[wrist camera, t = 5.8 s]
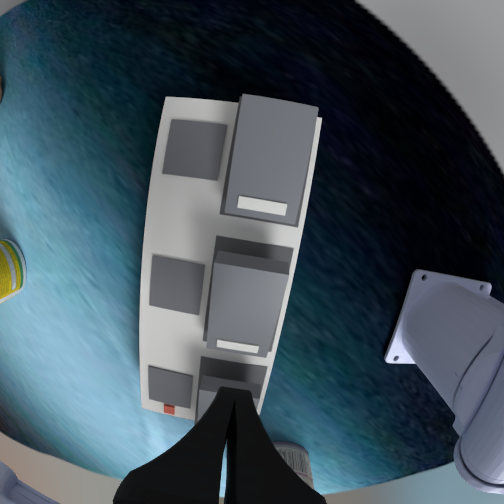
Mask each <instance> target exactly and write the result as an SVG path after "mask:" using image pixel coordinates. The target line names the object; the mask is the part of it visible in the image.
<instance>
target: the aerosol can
mask: <svg viewBox="0 0 504 504" xmlns="http://www.w3.org/2000/svg"><path fill="white" fill-rule="evenodd" d="M272 443H273V445H274V446H275V448H276V449H277V451H278V452H279V454H280V455H281V456H282V458H283V459H284V460H285V462H286V463H287V464H288V465H289V466H290V467H291V468H292V469H293V471H294V472H295V473H296V474H297V475H298V476H299V477H300V478H301V479H302V480H303V481H304V482H305V483H307V484H308V485H309V486H310V487H311V488H312V489H314V485H313V479H312V472H311V466H310V461H309V455H308V452H307V451H306V450H305V449H304V448H303V447H301V446H299V445H297V444H294V443H289V442H272Z"/></svg>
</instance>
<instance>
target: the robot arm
mask: <svg viewBox="0 0 504 504" xmlns="http://www.w3.org/2000/svg"><path fill="white" fill-rule="evenodd" d="M424 274H425V277H424V279H422V276H423V275H424ZM480 286H481V288H480ZM490 291H491V284H490V283H488V282H483V281H478V280H473V279H467V278H462V277H457V276H452V275H447V274H442V273H436V272H431V271H426V270H420V269H417V270H415V271H414V272H413V274H412V277H411V281H410V284H409V287H408V291H407V294H406V297H405V300H404V304H403V307H402V310H401V313H400V316H399V319H398V322H397V324H396V327H395V330H394V333H393V336H392V338H391V341H390V344H389V346H388V349H387V351H386V354H385V357H384V359H385V361H386V362H387V363H411V364H417V366H418V367H419V368H420V369H421V371H422V372H423V373H424V374H425V376H426V377H427V378H428V379H429V381H430V382H431V383H432V385H433V386H434V387H435V389H436V390H437V391H438V392H439V394H440V395H441V396H442V398H443V399H444V400H445V402H446V403H447V404H448V406H449V407H450V408H451V410H452V411H453V412H454V414H455V416H456V418H455V422H454V424H453V427H454V429H455V430H456V432H457V433H458V435H459V436H460V438H459V439H458V441H457V443H456V445H455V449H454V462H455V465H456V468H457V470H458V472H459V474H460V475H461V477H463V479H464V480H465V481H466V482H467V483H468V484H469V485H471V486H472V487H474V488H476V489H478V490H480V491H484V492H489V493H500V494H504V304H503V303H501V302H499V301H498V300H496V299H494V298H493V297H491V296H489V294H490ZM395 356H397V357H396V358H394V357H395ZM226 440H227V478H226V490H225V498H224V504H327V503H326V500H325V498H324V497H323V496H322V495H320V494H319V493H318V492H316V491H315V490H314V489H312V488H311V487H310V486H309V485H308V484H307V483H305V482H304V481H303V480H302V479H301V478H300V477H299V476H298V475H297V474H296V473H295V472H294V471H293V469H292V468H291V467H290V466H289V465H288V464H287V463H286V462H285V460H284V459H283V458H282V456H281V455H280V454H279V452H278V451H277V449H276V448H275V446H274V445H273V443H272V441H271V440H270V438H269V436H268V434H267V433H266V431H265V429H264V427H263V424H262V422H261V420H260V418H259V415H258V413H257V410H256V407H255V404H254V401H253V397H252V393H251V391H250V390H243V389H237V388H230V387H224V386H221V387H219V389H218V392H217V394H216V396H215V398H214V400H213V401H212V403H211V405H210V406H209V408H208V409H207V410H206V412H205V413H204V415H203V416H202V417H201V418H200V420H199V421H198V422H197V423H196V424H195V426H194V427H193V428H192V429H191V430H190V431H189V432H188V433H187V434H186V435H185V436H184V437H183V438H182V439H181V440H180V441H178V442H177V443H176V444H175V445H174V446H172V447H171V448H170V449H168V450H167V451H166V452H164V453H163V454H161V455H160V456H158V457H156V458H155V459H153V460H152V461H150V462H148V463H146V464H144V465H142V466H140V467H138V468H136V469H134V470H132V471H130V472H129V474H128V475H127V476H126V477H125V478H124V480H123V481H122V482H121V484H120V486H119V488H118V489H117V491H116V494H115V496H114V499H113V504H219V492H220V481H221V470H222V460H223V452H224V448H225V444H226ZM0 504H60V503H58V502H56V501H54V500H52V499H50V498H48V497H47V496H45V495H43V494H41V493H40V492H38V491H36V490H35V489H33V488H31V487H30V486H28V485H26V484H25V483H23V482H22V481H20V480H18V478H17V476H16V474H15V473H14V472H13V471H12V470H11V469H10V468H9V467H8V466H7V465H5V464H4V463H3V462H1V461H0Z"/></svg>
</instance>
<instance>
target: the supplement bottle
mask: <svg viewBox="0 0 504 504" xmlns="http://www.w3.org/2000/svg"><path fill="white" fill-rule="evenodd" d="M25 283H26V264H25V260H24V257H23V255H22V253H21V251H20V249H19V248H18V246H17V245H16V244H15V243H14V242H12V241H11V240H8V239H1V240H0V303H2V302H4V301H6V300H8V299H10V298H12V297H13V296H15V295H17V294H19V293H20V292H21V291H22V290H23V288H24V286H25Z"/></svg>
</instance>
